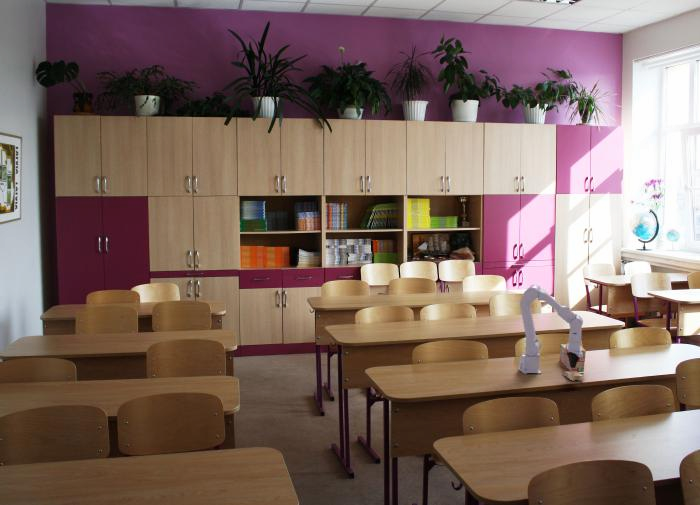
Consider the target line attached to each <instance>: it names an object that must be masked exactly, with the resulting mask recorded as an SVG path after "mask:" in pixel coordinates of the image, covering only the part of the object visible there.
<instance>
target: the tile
mask: <svg viewBox="0 0 700 505" xmlns="http://www.w3.org/2000/svg"><path fill="white" fill-rule="evenodd" d="M564 374H565V376H566V377H567V378H569V379H570V380H569V379H568V380H569V381H571V380H572V381H573V382H575V380H578V381H584V374H583V373H579V372H577V371H569V370H568V371H567V370H566V371H565V372H564ZM566 377H565V378H566ZM567 378H566V379H567Z"/></svg>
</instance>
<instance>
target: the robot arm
mask: <svg viewBox="0 0 700 505" xmlns="http://www.w3.org/2000/svg"><path fill="white" fill-rule="evenodd" d="M536 300H537V301H542V302H545V303H546V304H548V305H549V306H550V307H551V308H553V309H554V310H555V311H556V314H557V315H558V317H560V318H561V320H563V321H565V322H566V323H567V324H568V325H569V334H568V344H569V345H566V346H565V349H566V350H568V351H570V352H568V353H567V355H568V358H569V363H570V367H571V368H575V367H576V364H577V361H578V360H579V358H580V357H583V353H582V352H581V351H582V349H580V347H582V332H583V331H582V330H583V327H582V326H583V325H584V320H583V318H582V317H581V316H580V315H578V313H575V312H573V311H572V310H571V309H570V306H566V305H561V304H560V303H559V302H558V300H557V301H556V299H554V298H553V297H552V295H550V293H548V292H547V291H546V290H545V289H544V288H541V286H540V285H538V284H532V285H530V286H529V287H528V288H527V289H526V290H525V291H524V292H523V295H522V297H521V298H520V301H519V305H520V312H521V317H522V322H523V323H522V324H523V328H524V334H525V348H524V351H525V353H524V354H521V355H520V356H519V362H518V363H519V364H518V366H519V367H518V370H519V371H520V372H521V373H522V374H524V375H526V374H527V373H537V374H543V373H542V371H540V357H541V356H540V355H541V354H540V352H539V351H540V350H541V348H542V347H541V346H542V344H541V342H540V341H539V339H538V336H537V334H536V329H535V328H536V327H535V323H534V319H533V313H532V312H533V311H532V307H531V304H532V303H533V301H536Z"/></svg>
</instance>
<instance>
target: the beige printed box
mask: <svg viewBox="0 0 700 505" xmlns="http://www.w3.org/2000/svg"><path fill="white" fill-rule="evenodd" d="M566 345H569V343H566V344H562V343H561V344H560V345H559V346H560V347H559V362H560V363H561V362H562V363H563V364H564V365H565V366H566V367H565V366H564V365H563V364H562V363H561V364H562V365H563V366H564V367H565V368H566V369H567V368H568V369H569V370H570V371H577V372H584V371H585V362H586V352H587V351H586V349H585V348H584V347H582V346H581V347H580V349H582V351H581V352H582V353H583V357H580V358H579V360H578V361H577V364H576V367H575V368H571V367H570V363H569V358H568V355H567V353H568V352H570V351H568V350H566V349H565V346H566ZM568 369H567V370H568ZM569 370H568V371H569Z"/></svg>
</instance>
